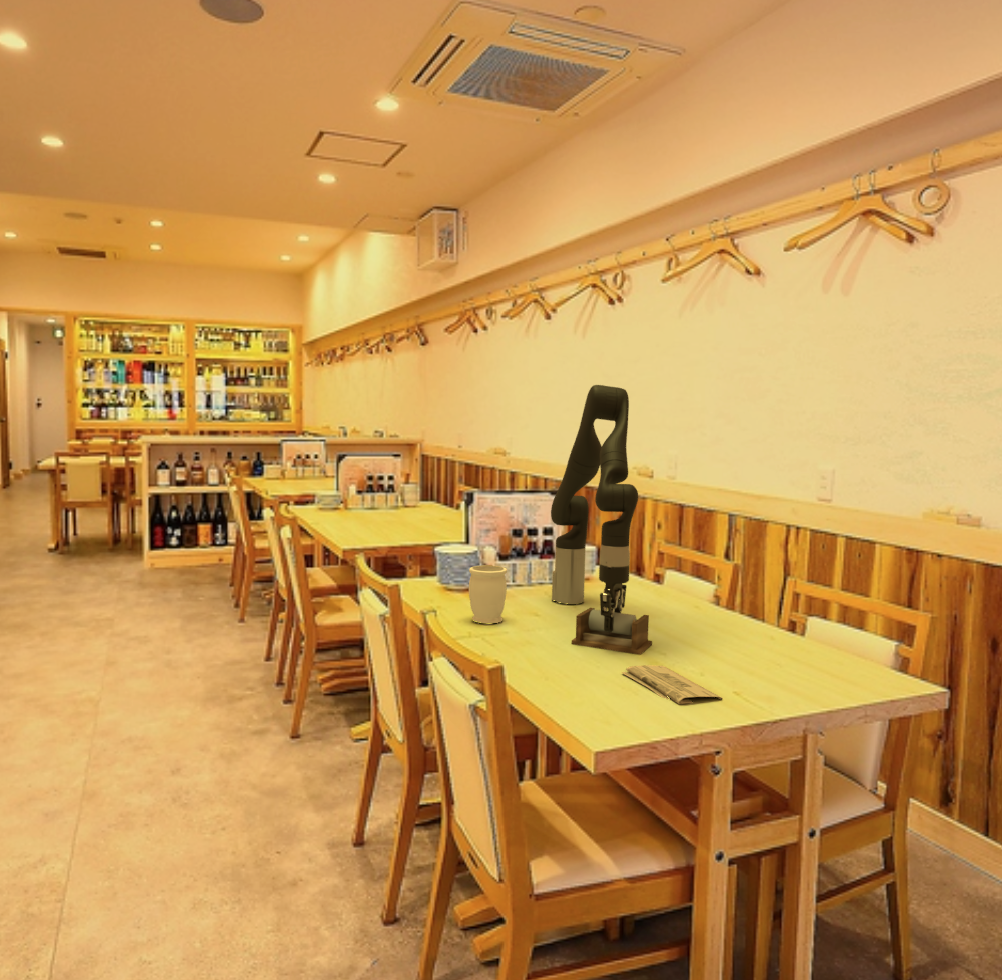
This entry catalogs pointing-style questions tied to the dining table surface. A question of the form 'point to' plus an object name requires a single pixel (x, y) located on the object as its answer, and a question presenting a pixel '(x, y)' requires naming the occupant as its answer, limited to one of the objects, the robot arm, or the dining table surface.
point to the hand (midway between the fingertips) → (612, 628)
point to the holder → (612, 636)
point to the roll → (619, 626)
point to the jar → (487, 593)
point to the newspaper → (668, 683)
